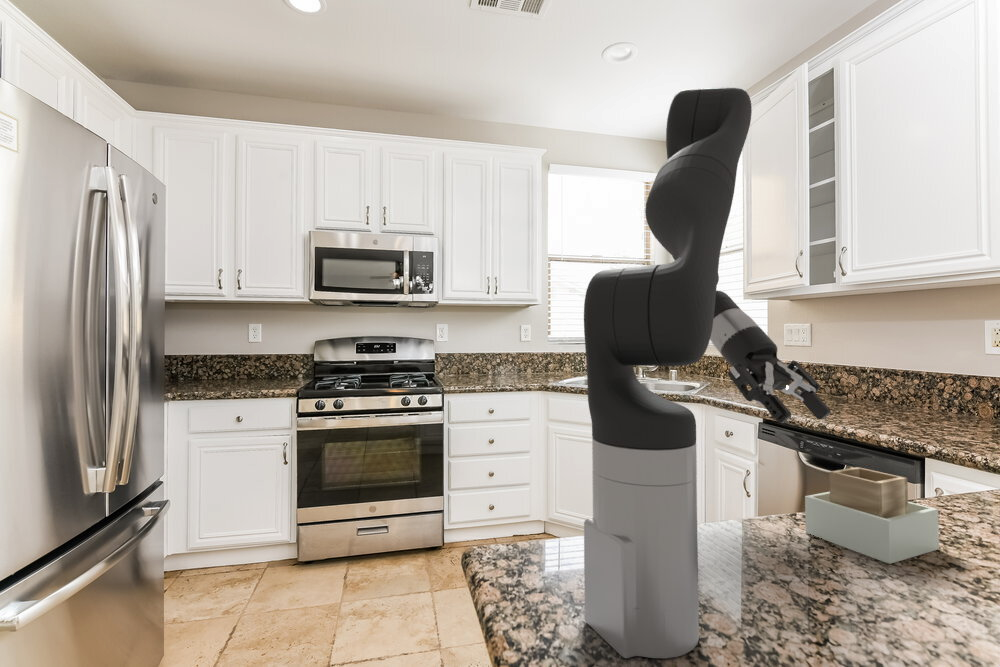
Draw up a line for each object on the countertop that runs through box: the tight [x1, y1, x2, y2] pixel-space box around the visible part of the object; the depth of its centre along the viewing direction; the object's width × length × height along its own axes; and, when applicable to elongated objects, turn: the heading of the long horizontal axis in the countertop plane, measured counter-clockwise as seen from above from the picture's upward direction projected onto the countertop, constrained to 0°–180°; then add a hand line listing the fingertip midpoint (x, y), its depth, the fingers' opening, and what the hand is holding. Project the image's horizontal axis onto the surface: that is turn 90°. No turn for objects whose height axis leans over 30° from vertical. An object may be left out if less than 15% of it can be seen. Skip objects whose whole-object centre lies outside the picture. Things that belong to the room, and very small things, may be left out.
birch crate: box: [828, 466, 909, 519], centre depth 64 cm, size 6×6×8 cm
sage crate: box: [804, 491, 940, 565], centre depth 64 cm, size 10×10×5 cm
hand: (806, 417), depth 72 cm, fingers open, 8 cm apart
